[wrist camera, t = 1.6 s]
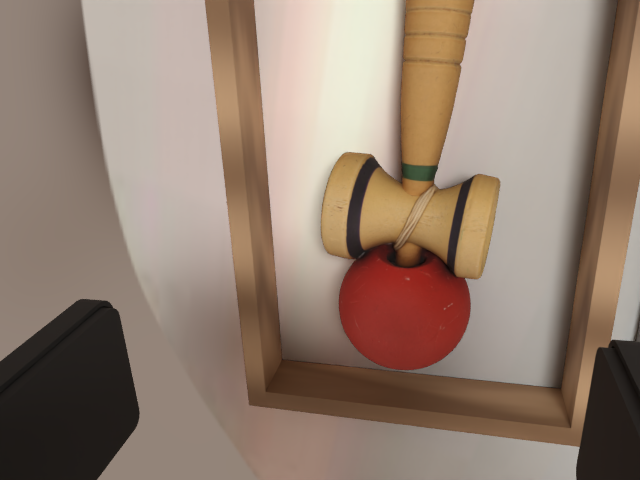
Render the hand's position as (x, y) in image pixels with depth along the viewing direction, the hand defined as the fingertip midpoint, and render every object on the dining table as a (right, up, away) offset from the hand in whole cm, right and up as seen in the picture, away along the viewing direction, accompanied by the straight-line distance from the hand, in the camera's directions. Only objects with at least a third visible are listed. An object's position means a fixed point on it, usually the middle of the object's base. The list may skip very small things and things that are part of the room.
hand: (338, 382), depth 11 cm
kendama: (+4, +7, +15) cm, 17 cm away
